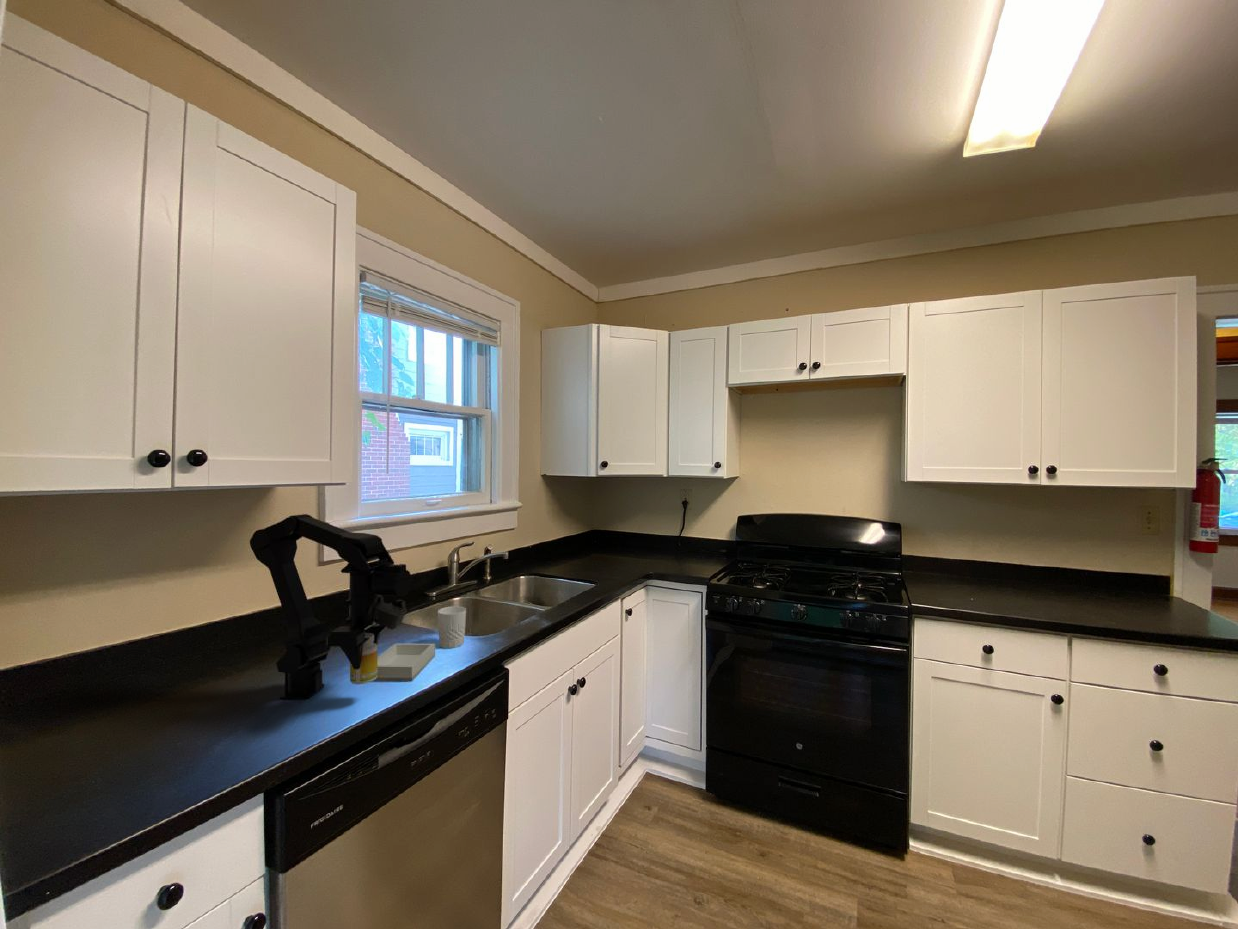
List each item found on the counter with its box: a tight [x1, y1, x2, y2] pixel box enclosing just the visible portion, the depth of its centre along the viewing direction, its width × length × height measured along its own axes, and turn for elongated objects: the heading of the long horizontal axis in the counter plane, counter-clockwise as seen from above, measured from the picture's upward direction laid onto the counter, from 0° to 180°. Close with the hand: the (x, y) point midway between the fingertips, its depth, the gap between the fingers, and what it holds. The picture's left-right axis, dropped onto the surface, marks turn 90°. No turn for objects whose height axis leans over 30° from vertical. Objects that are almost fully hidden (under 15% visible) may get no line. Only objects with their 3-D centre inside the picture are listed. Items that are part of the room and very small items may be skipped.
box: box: [372, 642, 436, 682], centre depth 125 cm, size 11×15×4 cm
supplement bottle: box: [349, 633, 378, 685], centre depth 108 cm, size 5×5×10 cm
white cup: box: [437, 605, 467, 649], centre depth 142 cm, size 8×8×10 cm
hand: (363, 663), depth 108 cm, fingers closed on supplement bottle, 5 cm apart
